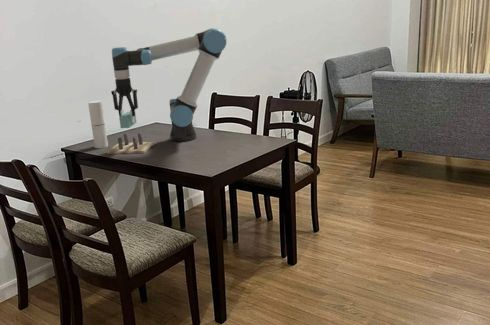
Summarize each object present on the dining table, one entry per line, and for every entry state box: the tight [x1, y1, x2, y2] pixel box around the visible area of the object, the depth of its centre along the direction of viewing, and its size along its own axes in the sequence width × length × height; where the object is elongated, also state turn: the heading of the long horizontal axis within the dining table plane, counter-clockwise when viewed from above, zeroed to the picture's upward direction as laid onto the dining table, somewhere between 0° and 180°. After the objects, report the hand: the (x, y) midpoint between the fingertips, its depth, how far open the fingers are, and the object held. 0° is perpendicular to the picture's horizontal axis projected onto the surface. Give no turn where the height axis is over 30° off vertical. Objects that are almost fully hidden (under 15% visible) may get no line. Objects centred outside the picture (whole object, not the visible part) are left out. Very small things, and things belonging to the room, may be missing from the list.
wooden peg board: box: [106, 132, 155, 155], centre depth 262 cm, size 20×18×7 cm
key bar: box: [118, 111, 137, 129], centre depth 259 cm, size 12×4×6 cm, turn 174°
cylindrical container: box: [87, 100, 109, 149], centre depth 268 cm, size 7×7×25 cm
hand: (128, 122), depth 259 cm, fingers closed on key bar, 4 cm apart
